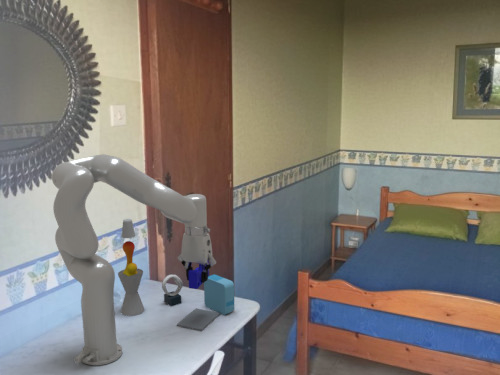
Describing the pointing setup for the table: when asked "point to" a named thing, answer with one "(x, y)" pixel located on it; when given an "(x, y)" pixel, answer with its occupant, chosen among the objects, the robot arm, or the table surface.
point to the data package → (219, 294)
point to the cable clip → (195, 277)
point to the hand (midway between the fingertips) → (197, 279)
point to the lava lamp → (130, 275)
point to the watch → (173, 297)
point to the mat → (198, 319)
